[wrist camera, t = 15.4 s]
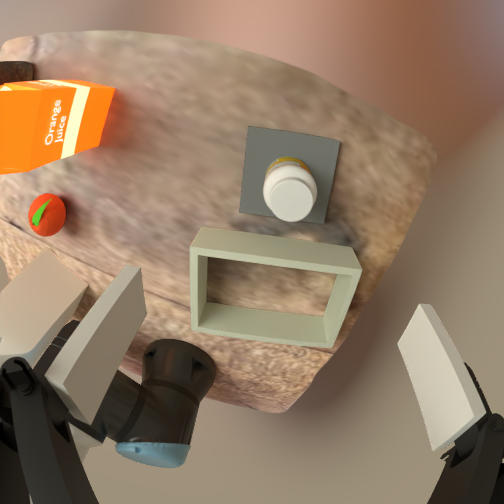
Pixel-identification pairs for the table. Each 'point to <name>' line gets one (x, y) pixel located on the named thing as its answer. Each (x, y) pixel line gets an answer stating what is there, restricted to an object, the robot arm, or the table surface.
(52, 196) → the clementine
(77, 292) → the milk
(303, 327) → the open box
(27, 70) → the brown rounded bar
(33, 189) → the table surface
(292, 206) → the supplement bottle
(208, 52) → the table surface
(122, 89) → the table surface
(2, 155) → the orange juice
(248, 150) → the slate mat
